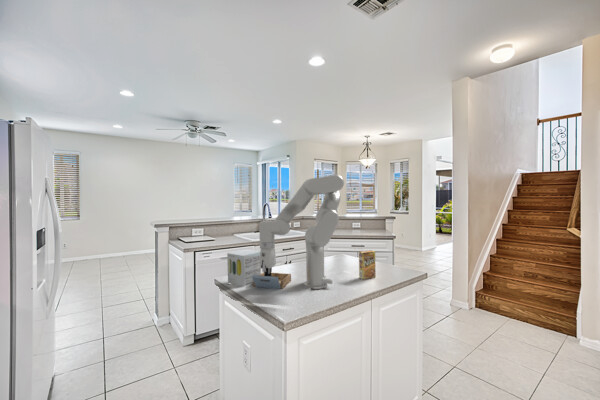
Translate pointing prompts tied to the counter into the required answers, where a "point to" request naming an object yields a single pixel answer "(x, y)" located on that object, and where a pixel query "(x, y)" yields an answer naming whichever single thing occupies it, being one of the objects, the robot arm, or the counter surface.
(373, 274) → the candy box
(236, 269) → the supplement box
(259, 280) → the panel
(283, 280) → the crate
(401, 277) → the counter surface
